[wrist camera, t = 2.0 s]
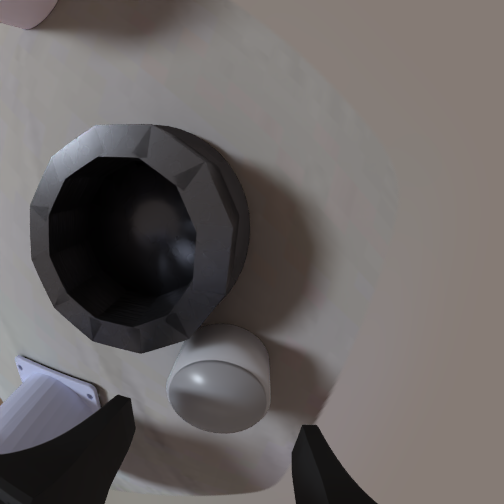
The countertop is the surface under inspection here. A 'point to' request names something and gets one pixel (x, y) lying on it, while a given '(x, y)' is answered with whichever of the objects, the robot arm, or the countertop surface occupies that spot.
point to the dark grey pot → (138, 234)
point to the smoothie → (25, 12)
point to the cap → (221, 379)
